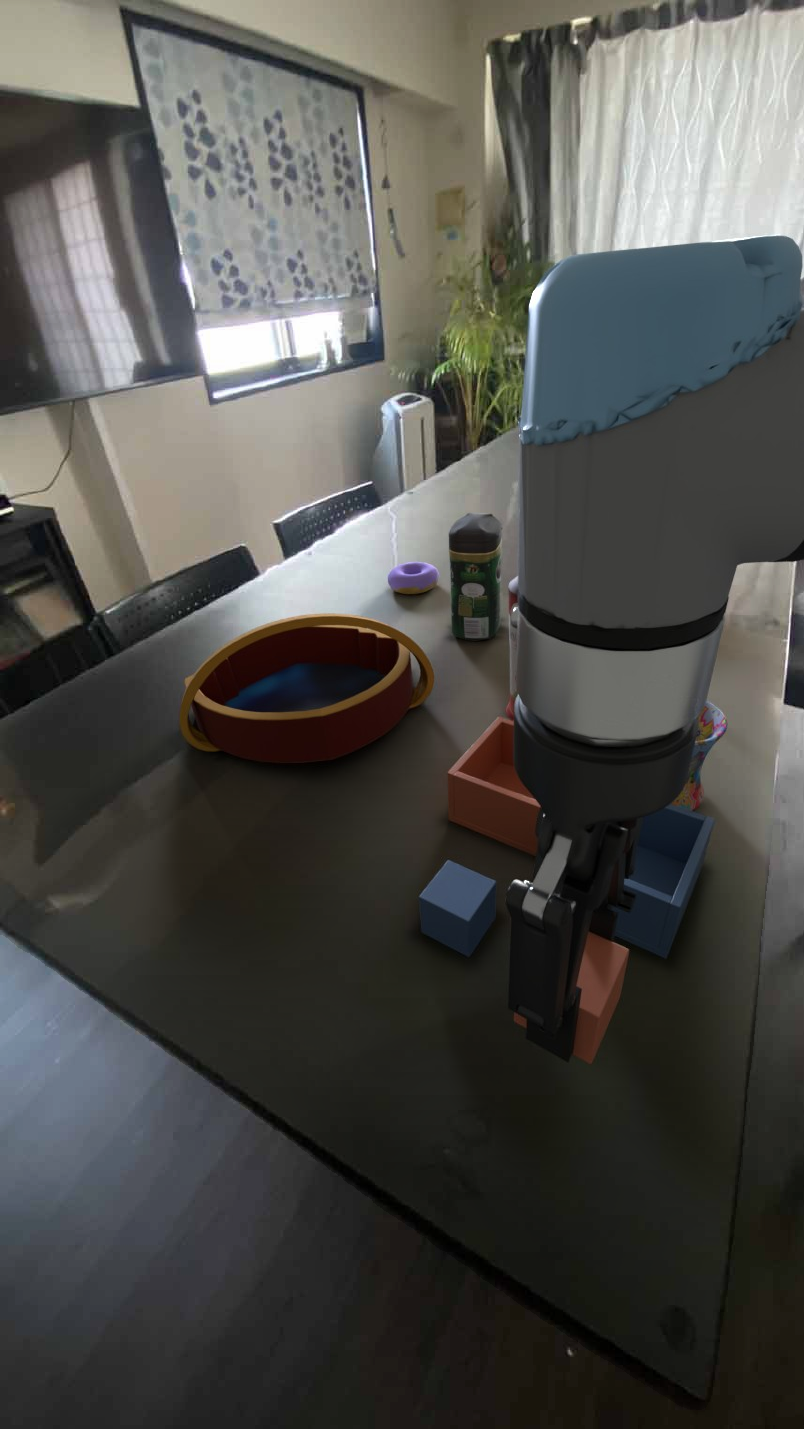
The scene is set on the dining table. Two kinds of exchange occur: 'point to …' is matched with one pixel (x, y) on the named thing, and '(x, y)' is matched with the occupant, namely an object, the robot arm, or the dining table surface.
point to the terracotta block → (596, 993)
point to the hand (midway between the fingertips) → (567, 1006)
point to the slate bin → (663, 876)
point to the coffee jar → (475, 576)
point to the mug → (701, 755)
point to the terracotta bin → (493, 791)
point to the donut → (413, 578)
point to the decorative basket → (304, 689)
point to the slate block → (458, 907)
